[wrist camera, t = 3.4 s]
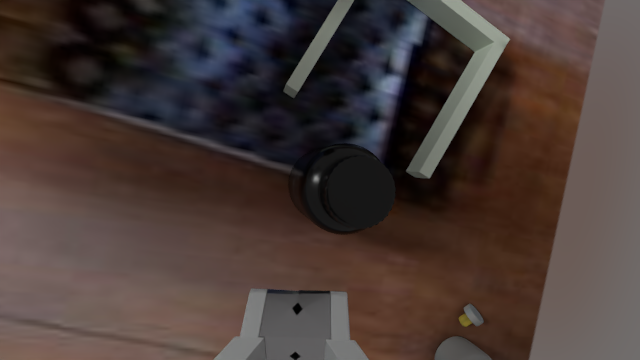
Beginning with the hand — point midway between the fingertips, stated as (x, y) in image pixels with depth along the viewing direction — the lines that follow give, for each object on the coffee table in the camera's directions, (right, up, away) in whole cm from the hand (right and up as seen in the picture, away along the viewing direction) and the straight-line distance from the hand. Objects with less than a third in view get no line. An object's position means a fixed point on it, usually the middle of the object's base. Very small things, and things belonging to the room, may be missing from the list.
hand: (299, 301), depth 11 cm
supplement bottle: (+1, +4, +23) cm, 24 cm away
